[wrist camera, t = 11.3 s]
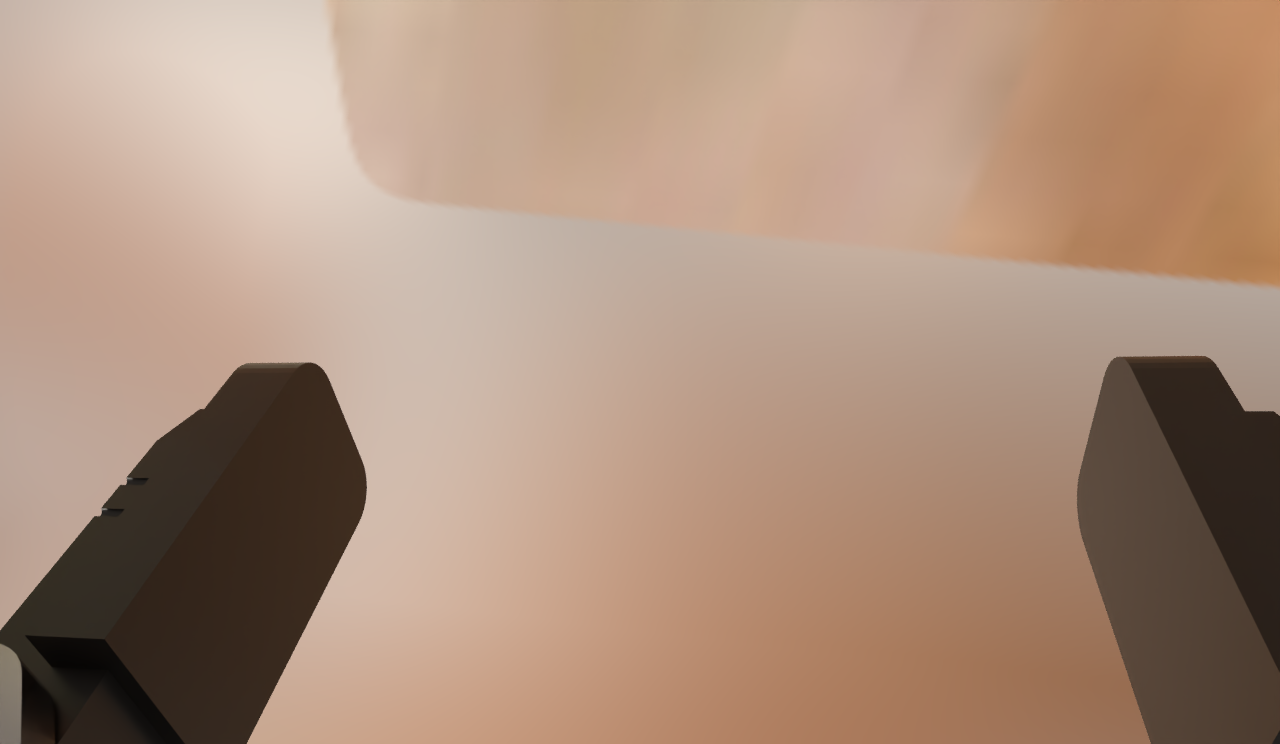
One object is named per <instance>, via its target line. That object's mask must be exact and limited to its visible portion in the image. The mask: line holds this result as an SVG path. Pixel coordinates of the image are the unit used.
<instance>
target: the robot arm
mask: <svg viewBox="0 0 1280 744" xmlns="http://www.w3.org/2000/svg"><path fill="white" fill-rule="evenodd" d="M366 489H367V485H366V474H365V468H364V465H363V462H362V460H361V457H360V455H359V452H358V450H357V447H356V445H355V442H354V440H353V437H352V435H351V432H350V430H349V428H348V425H347V423H346V420H345V418H344V415H343V413H342V410H341V408H340V405H339V403H338V401H337V398H336V396H335V393H334V391H333V388H332V386H331V383H330V381H329V379H328V377H327V375H326V373H325V372H324V370H323V369H322V368H321V367H320V366H318V365H317V364H314V363H248V364H244V365H242V366H240V367H239V368H237V370H235V371H234V372H233V374H232V375H231V376H230V377H229V379H228V380H227V381H226V382H225V384H224V385H223V386H222V387H221V389H220V390H219V391H218V393H217V394H216V395H215V396H214V397H213V399H212V400H211V401H210V403H209V404H208V405H207V406H206V408H205V409H200V410H198V411H197V412H195V413H194V414H193V415H191V416H190V417H189V418H187V419H186V420H185V421H183V422H182V423H180V424H179V425H178V426H176V427H175V428H174V429H172V430H171V431H170V432H168V433H167V434H165V435H164V436H163V437H161V438H160V439H159V440H157V441H156V442H155V444H154V445H153V446H152V448H151V449H150V450H149V451H148V452H147V453H146V455H145V456H144V457H143V458H142V459H141V461H140V462H139V463H138V464H137V465H136V467H135V468H134V469H133V470H132V472H131V473H130V474H129V475H128V476H127V484H126V485H120V486H119V487H118V489H117V490H116V491H115V492H114V493H113V495H112V496H111V497H110V498H109V499H108V501H107V502H106V503H105V504H104V505H103V507H102V508H101V509H102V514H101V516H98V517H97V516H95V517H94V518H93V519H92V520H91V521H90V523H89V524H88V525H87V526H86V527H85V528H84V530H83V531H82V532H81V533H80V535H79V536H78V537H77V538H76V539H75V541H74V542H73V543H72V544H71V545H70V547H69V548H68V549H67V550H66V552H65V553H64V554H63V555H62V557H61V558H60V559H59V560H58V561H57V563H56V564H55V565H54V566H53V567H52V569H51V570H50V571H49V572H48V574H47V575H46V576H45V577H44V578H43V579H42V581H41V582H40V583H39V584H38V586H37V587H36V588H35V589H34V590H33V592H32V593H31V594H30V595H29V596H28V598H27V599H26V600H25V601H24V603H23V604H22V605H21V606H20V607H19V609H18V610H17V611H16V612H15V613H14V615H13V616H12V617H11V618H10V619H9V621H8V622H7V623H6V624H5V625H4V627H3V628H2V629H1V630H0V744H247V742H248V740H249V738H250V736H251V734H252V732H253V730H254V728H255V726H256V724H257V722H258V720H259V718H260V716H261V714H262V712H263V710H264V708H265V706H266V704H267V702H268V700H269V698H270V696H271V694H272V693H273V691H274V689H275V686H276V685H277V683H278V680H279V679H280V676H281V675H282V673H283V671H284V669H285V667H286V665H287V663H288V661H289V659H290V657H291V655H292V653H293V651H294V649H295V647H296V645H297V643H298V641H299V639H300V637H301V635H302V633H303V632H304V630H305V628H306V626H307V624H308V621H309V620H310V618H311V616H312V614H313V612H314V610H315V608H316V606H317V604H318V602H319V600H320V598H321V596H322V594H323V592H324V590H325V588H326V586H327V584H328V582H329V580H330V578H331V576H332V574H333V573H334V571H335V568H336V567H337V564H338V563H339V560H340V559H341V557H342V555H343V553H344V551H345V549H346V547H347V545H348V543H349V541H350V539H351V537H352V535H353V533H354V531H355V529H356V527H357V525H358V523H359V521H360V519H361V516H362V514H363V510H364V506H365V501H366V491H367V490H366ZM1077 508H1078V519H1079V526H1080V531H1081V535H1082V539H1083V542H1084V545H1085V548H1086V551H1087V554H1088V557H1089V560H1090V563H1091V566H1092V569H1093V572H1094V575H1095V578H1096V581H1097V584H1098V587H1099V590H1100V593H1101V596H1102V599H1103V602H1104V604H1105V608H1106V611H1107V613H1108V616H1109V620H1110V623H1111V626H1112V629H1113V631H1114V635H1115V637H1116V640H1117V643H1118V646H1119V649H1120V652H1121V655H1122V658H1123V661H1124V664H1125V667H1126V670H1127V673H1128V676H1129V679H1130V682H1131V685H1132V688H1133V691H1134V694H1135V697H1136V700H1137V703H1138V706H1139V709H1140V712H1141V715H1142V718H1143V721H1144V724H1145V727H1146V730H1147V733H1148V736H1149V739H1150V742H1151V744H1280V416H1279V415H1278V414H1276V413H1275V412H1273V411H1272V412H1271V411H1268V412H1265V411H1264V412H1263V411H1259V412H1258V411H1257V412H1256V411H1255V412H1253V411H1251V412H1249V411H1244V409H1243V408H1242V406H1241V404H1240V403H1239V401H1238V399H1237V398H1236V396H1235V395H1234V393H1233V391H1232V390H1231V388H1230V386H1229V385H1228V383H1227V382H1226V380H1225V378H1224V377H1223V375H1222V373H1221V372H1220V370H1219V368H1218V367H1217V366H1216V364H1215V363H1214V362H1213V361H1212V360H1211V359H1210V358H1208V357H1206V356H1162V357H1161V356H1158V357H1116V358H1114V359H1113V360H1112V361H1111V362H1110V364H1109V365H1108V367H1107V370H1106V372H1105V376H1104V379H1103V383H1102V387H1101V391H1100V395H1099V399H1098V403H1097V407H1096V411H1095V414H1094V418H1093V422H1092V426H1091V430H1090V434H1089V438H1088V442H1087V446H1086V450H1085V454H1084V458H1083V462H1082V466H1081V469H1080V474H1079V479H1078V489H1077Z"/></svg>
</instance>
